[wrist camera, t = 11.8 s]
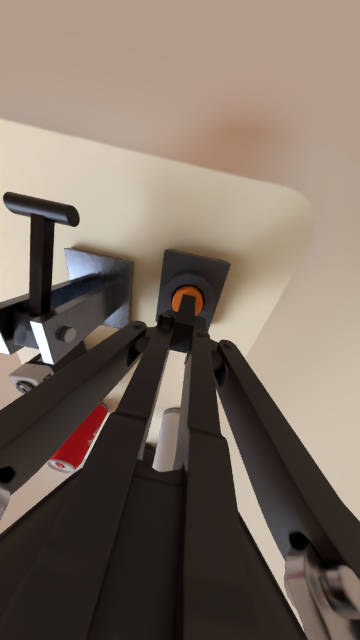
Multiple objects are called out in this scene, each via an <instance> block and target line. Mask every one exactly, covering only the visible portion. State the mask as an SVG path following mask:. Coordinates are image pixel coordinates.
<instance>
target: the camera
mask: <svg viewBox="0 0 360 640" xmlns="http://www.w3.org/2000/svg"><path fill="white" fill-rule="evenodd" d="M84 353H86V349H85V346H84V343H83V340H82V341H81V342H80V343H79V344H78V345H76V346H75V347H74V348H73V349H72V350H71V351H70V352H68V353H67V354H66V355H65V356H64V357H63V358H61V359H60V360H59V361H58V362H57V363H56V364H55V365H53V364H49V363H44V362H43V359H42V356H41V353H40V354H38V355H37V356H35V357H34V358H33V359H31V360H30V361H28V362H26V363H25V364H24V365H22V366H21V367H19V368H18V369H17V370H15V371H14V372H12V373H11V374H10V375H9V378H10V379H11V381H12V382H13V384H14V385H15V386H16V388H17V389H18V391H19V392H20V394H21V395H24V394H25V393H27V392H28V391H30V390H31V389H33V388H34V387H35V386H37V385H38V384H40V383H41V382H43V381H44V380H46V379H47V378H49V377H50V376H52V375H53V374H55V373H56V372H58V371H59V370H61V369H62V368H64V367H65V366H67V365H68V364H69V363H71V362H72V361H74V360H75V359H77V358H78V357H80V356H81V355H83V354H84Z"/></svg>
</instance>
